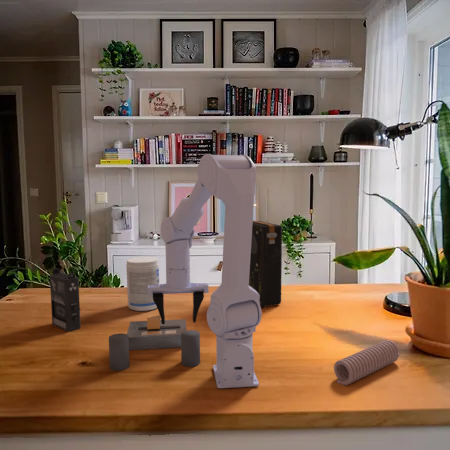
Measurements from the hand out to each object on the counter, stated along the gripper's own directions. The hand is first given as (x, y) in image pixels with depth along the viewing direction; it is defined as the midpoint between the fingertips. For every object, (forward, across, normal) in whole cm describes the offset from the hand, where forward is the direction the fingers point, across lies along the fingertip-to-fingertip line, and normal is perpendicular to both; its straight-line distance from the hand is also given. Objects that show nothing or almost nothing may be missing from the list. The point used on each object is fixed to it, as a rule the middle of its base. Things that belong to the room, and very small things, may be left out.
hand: (178, 322), depth 108 cm
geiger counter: (+4, +29, -13) cm, 32 cm away
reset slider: (+1, +6, 0) cm, 6 cm away
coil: (+5, -38, +22) cm, 44 cm away
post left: (+4, +13, +14) cm, 19 cm away
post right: (+4, -2, +14) cm, 15 cm away
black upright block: (+4, -26, -29) cm, 39 cm away
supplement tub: (+4, +10, -27) cm, 29 cm away
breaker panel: (+4, +5, 0) cm, 7 cm away
